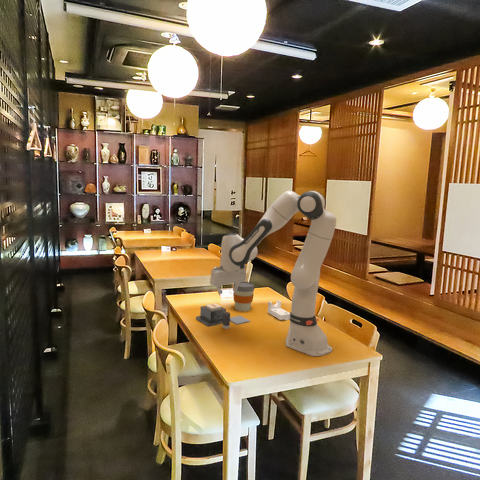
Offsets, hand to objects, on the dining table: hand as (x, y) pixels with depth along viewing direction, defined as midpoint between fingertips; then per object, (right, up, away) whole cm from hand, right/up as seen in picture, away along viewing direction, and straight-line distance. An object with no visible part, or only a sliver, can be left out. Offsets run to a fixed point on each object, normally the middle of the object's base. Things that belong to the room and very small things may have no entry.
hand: (227, 292), depth 194 cm
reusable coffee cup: (+8, -15, +34) cm, 37 cm away
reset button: (-8, -14, +12) cm, 20 cm away
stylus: (-1, -19, +3) cm, 19 cm away
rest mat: (+5, -17, +14) cm, 23 cm away
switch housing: (-8, -17, +12) cm, 22 cm away
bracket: (+28, -17, +24) cm, 41 cm away
